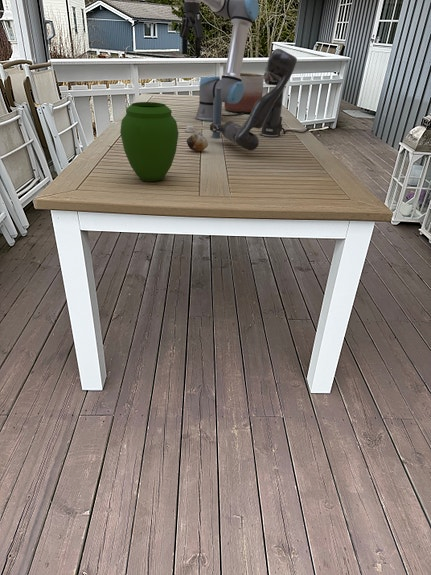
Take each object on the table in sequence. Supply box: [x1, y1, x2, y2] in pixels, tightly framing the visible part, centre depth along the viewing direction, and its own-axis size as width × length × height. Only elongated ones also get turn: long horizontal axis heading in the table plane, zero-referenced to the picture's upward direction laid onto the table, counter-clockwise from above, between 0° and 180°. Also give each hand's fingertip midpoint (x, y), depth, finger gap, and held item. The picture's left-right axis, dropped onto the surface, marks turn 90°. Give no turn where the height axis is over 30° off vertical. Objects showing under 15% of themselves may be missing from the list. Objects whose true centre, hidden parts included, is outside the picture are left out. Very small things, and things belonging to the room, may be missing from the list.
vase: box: [119, 101, 179, 182], centre depth 140 cm, size 20×20×24 cm
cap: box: [186, 125, 195, 133], centre depth 217 cm, size 4×4×2 cm
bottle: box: [211, 88, 223, 139], centre depth 202 cm, size 4×4×23 cm
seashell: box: [186, 132, 209, 152], centre depth 180 cm, size 10×6×8 cm, turn 97°
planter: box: [223, 72, 265, 114], centre depth 275 cm, size 25×25×22 cm
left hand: (191, 55), depth 198 cm, fingers open, 13 cm apart
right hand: (220, 125), depth 201 cm, fingers open, 8 cm apart
